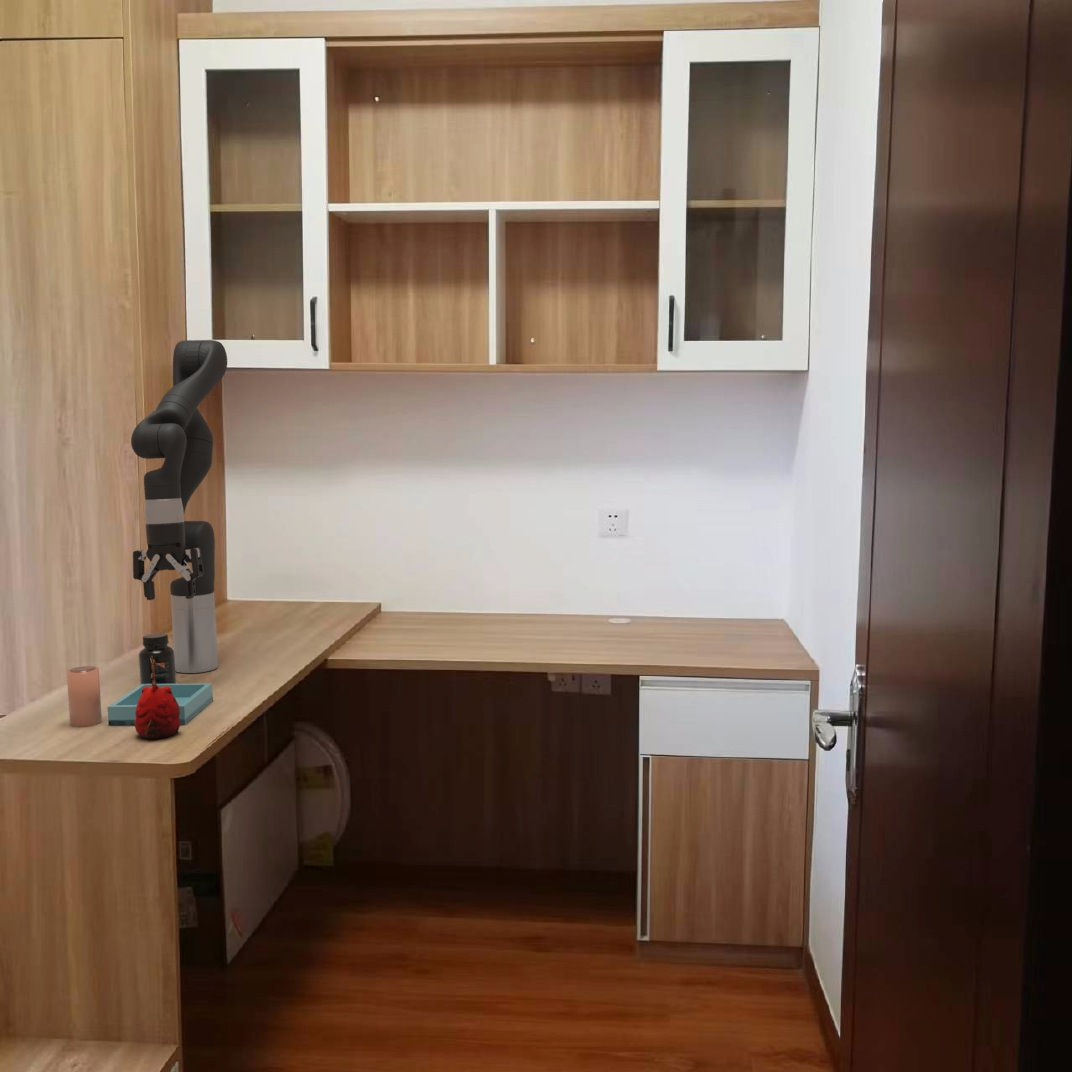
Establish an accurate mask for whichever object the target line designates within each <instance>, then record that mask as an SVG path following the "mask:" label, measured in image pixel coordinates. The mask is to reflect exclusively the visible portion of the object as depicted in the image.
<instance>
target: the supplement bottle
mask: <svg viewBox="0 0 1072 1072" xmlns="http://www.w3.org/2000/svg"><path fill="white" fill-rule="evenodd" d="M142 646H143V648H142V649H141V650H140V651H139V652H138V666H139V681H140V685H141V684H152V681H153V679H152V678H151V674H152V667H151V660H150V658H151V656H153V660H155V663H157V664H158V663H159V664H161V663H165V664H164V665H165V668H163V667H160V666H156V665H155V673H154V674H155V682H156V684H177V675H176V671H175V658H174V648H172V647H170V646H169V635H168V634H167V633H151V634H146V635H143V636H142Z"/></svg>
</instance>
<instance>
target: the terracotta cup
mask: <svg viewBox="0 0 1072 1072" xmlns="http://www.w3.org/2000/svg"><path fill="white" fill-rule="evenodd" d="M66 679H67V680H66V682H67V684H66V685H67V697H68V712H69V713H68V714H69V716H68V717H69V725H70V726H71V727H73V728H84V727H85V728H86V727H92V726H96V725H98V724H101V723H102V722H103V715H102V713H103V712H102V700H101V699H102V698H101V697H102V696H101V682H100V668H99V666H95V665H85V666H78V667H72V668H69V669H67V670H66Z"/></svg>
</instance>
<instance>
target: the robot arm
mask: <svg viewBox="0 0 1072 1072" xmlns="http://www.w3.org/2000/svg"><path fill="white" fill-rule="evenodd" d="M172 355H173V356H172V387H171V388H170V389H168V391H167V392H166V393H164V395H163V397H162V398H161V400H160V402H159V404H158V406H157V407H156V408H155V410H153V411H152V412H151V413H149V415H147V416H146V417H145V418H143V419H142V420H141V421H140V422H139V423H138V424H137V425H136V427H134V429H133V432H132V434H131V440H130V444H131V448H132V451H133V452H134V454H135V455H136V456H137V457H139V458H141V459H146V460H149V459H150V460H151V459H153V460H154V459H164V462H162V463H163V464H162V465H161V467H160V468H159V467H158V468H157V469H154V470H149V471H147V472H145V474H143V475H144V476H143V491H144V501H145V502H144V521H145V536H146V544H147V549H146V550H143V549H137V550H134V551H133V552H132V576H133V579H134V580H138V581H141V582H142V583H143V596H144V597H145V598H146V600H147V601H153V600H155V598H156V590H155V582H154V581H153V580H154V578H155V577H156V575H157V573H159V572H160V571H166V570H167V571H177V573H179V574H180V575H181V576H182V577H179V578H176V579H174V580H172V581H171V582H170V585H169V587H170V588H169V590H170V606H171V607H170V608H171V626H172V628H171V629H172V642H173V643H172V644H173V645H172V646H173V648H172V649H173V651H174V658H175V673H176V672H177V673H182V674H198V673H205V672H206V673H207V672H210V671H213V670H216V669H217V668H218V665H219V664H218V662H219V661H218V642H217V641H218V640H217V620H216V619H217V618H216V601H215V600H216V599H215V598H216V597H215V579H216V578H215V577H216V576H215V575H216V573H215V572H216V571H215V566H216V565H215V563H216V562H215V559H216V558H215V555H216V554H215V551H216V550H215V549H216V547H215V545H216V544H215V543H216V539H215V532H214V528H213V526H212V525H211V523H210V522H209V521H205V520H185V512H186V509H187V505H188V503H189V501H190V498H191V497H192V495H193V494H194V493H195V492H196V490H197V489H198V488H199V486H200V484H201V483H202V482H203V481H204V479H205V477H206V476H207V475H208V473H209V472H210V469H211V467H212V463H213V452H214V451H213V448H214V436H213V433H212V430H211V428H210V427H209V425H208V423H207V421H206V419H205V418H204V417H203V415H202V413H201V412H200V409H199V408H198V407H199V406H200V404H201V403H202V401H203V400H204V399H205V398H206V397H207V396H208V395H209V393H210V392H211V391H213V389H214V388H215V387H216V386H217V385H218V384H219V382H221V380H222V379H223V377H224V376H225V374H226V371H227V368H228V355H227V351H226V349H225V346H224V345H223V343H222V342H220V341H218V340H213V339H203V340H202V339H200V340H199V339H198V340H197V339H195V340H192V339H191V340H190V339H189V340H187V339H186V340H180V341H178V342H177V343H176V344H175V347H174V349H173V354H172ZM147 559H148V560H149V561H150V563H149V564H148V566H147V568H146V569H145V561H146V560H147ZM188 563H189V564H191V566H190V565H189V564H188ZM191 568H192V569H191Z"/></svg>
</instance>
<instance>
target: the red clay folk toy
mask: <svg viewBox="0 0 1072 1072" xmlns="http://www.w3.org/2000/svg"><path fill="white" fill-rule="evenodd" d="M150 660H151V667H152V674H151V678H152V679H153V681H152V687H144V688H143V689H142V695H141V696H140V698H139V701H138V703H137V707H136V712H135V716H136V719H135V725H134V728H135V731H136V734H138V735H139V736H140V737H141V738H143V739H148V740H158V739H159V740H160V739H163V738H166V737H171V736H174V735H175V734H176V733H178V731H179V729H180V726H181V725H180V718H179V715H180V709H179V705H178V703H177V701H176V699H175V697H174V696H173V694H172V691H171V688H170V687H168V686H165V687H158V686H157V684H156V682H155V674H154V673H155V665H156V666H160V667H163V668H165V665H164V664H165V663H161V664H159V663H158V664H157V663H155V660H153V656H151V658H150Z"/></svg>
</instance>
